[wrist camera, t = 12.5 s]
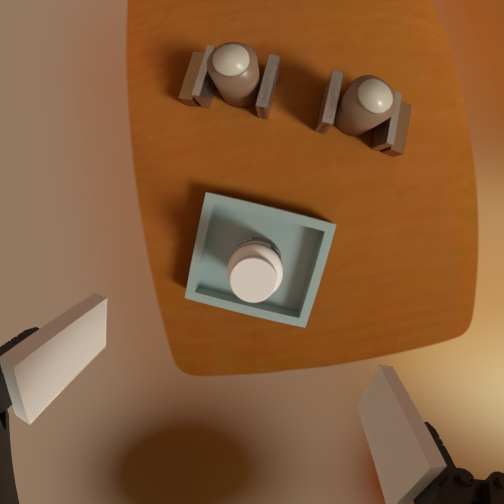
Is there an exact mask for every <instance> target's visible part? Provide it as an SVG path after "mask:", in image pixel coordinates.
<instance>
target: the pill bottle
mask: <svg viewBox="0 0 504 504" xmlns="http://www.w3.org/2000/svg"><path fill="white" fill-rule="evenodd" d="M227 274H228V280H229V282H230V286H231V289H232V291H233V292H234V294H235V295H236V296H237V297H238V298H240V299H241V300H243V301H246V302H251V303H256V302H261V301H263V300H265V299H267V298H268V297H269V296H270V295H271V294H272V293H274V292H275V291H276V290H277V288H278V287H279V285H280V283H281V281H282V277H283V266H282V258H281V253H280V250H279V248H278V247H277V245H276V244H275V243H274V242H273V241H272V240H270V239H268V238H266V237H262V236H253V237H249V238H247V239H245V240H244V241H242V242H241V243H240V244H239V245H238V247H237V248H236V250H235V252H234V253H233V255H232V256H231V258H230V260H229V263H228V268H227Z"/></svg>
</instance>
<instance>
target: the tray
mask: <svg viewBox="0 0 504 504" xmlns="http://www.w3.org/2000/svg"><path fill="white" fill-rule="evenodd" d="M335 228H336V224H334V223H332V222H329V221H325V220H322V219H318V218H314V217H310V216H307V215H303V214H299V213H295V212H291V211H287V210H284V209H280V208H276V207H272V206H268V205H264V204H259V203H255V202H251V201H247V200H243V199H239V198H234V197H230V196H226V195H221V194H217V193H212V192H206V194H205V198H204V203H203V207H202V212H201V217H200V221H199V226H198V231H197V236H196V241H195V246H194V251H193V256H192V261H191V267H190V272H189V277H188V283H187V288H186V294H185V298H187V299H190V300H194V301H198V302H201V303H205V304H209V305H212V306H216V307H220V308H224V309H228V310H232V311H235V312H239V313H243V314H247V315H252V316H256V317H260V318H264V319H268V320H272V321H277V322H281V323H285V324H290V325H294V326H299V327H304V328H305V327H306V324H307V321H308V318H309V315H310V312H311V309H312V306H313V302H314V299H315V296H316V293H317V290H318V287H319V283H320V280H321V277H322V274H323V270H324V267H325V264H326V260H327V257H328V253H329V250H330V246H331V243H332V239H333V235H334V232H335ZM253 236H262V237H266V238H268V239H270V240H272V241H273V242H274V243H275V244H276V245H277V247H278V248H279V250H280V253H281V258H282V266H283V277H282V281H281V283H280V285H279V287H278V288H277V290H276V291H275V292H274V293H272V294H271V295H270V296H269V297H268V298H267V299H265V300H263V301H261V302H256V303H251V302H246V301H243V300H241V299H240V298H238V297H237V296H236V295H235V294H234V292H233V291H232V289H231V286H230V282H229V280H228V274H227V268H228V263H229V260H230V258H231V256H232V255H233V253H234V252H235V250H236V248H237V247H238V245H239V244H240V243H241V242H242V241H244V240H245V239H247V238H249V237H253Z"/></svg>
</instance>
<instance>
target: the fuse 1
mask: <svg viewBox="0 0 504 504" xmlns="http://www.w3.org/2000/svg"><path fill="white" fill-rule="evenodd" d="M207 70H208V73H209V74H210V76H211V78H212V80H213V81H214V83H215V85H216V87H217V88H218V90H219V92H220V94H221V96H222V97H223V99H224V100H225V102H226V103H228V104H229V105H231V106H233V107H237V108H243V107H248V106H250V105H252V104H254V103H255V102H256V101H257V98H258V94H259V91H260V87H261V82H260V74H259V66H258V59H257V55H256V53H255V52H254V50H253V49H252V48H251V47H249V46H248V45H246V44H243V43H239V42H229V43H225V44H222V45H220V46H218V47H217V48H215V49H214V50H213V51H212V52H211V54H210V55H209V57H208V60H207Z"/></svg>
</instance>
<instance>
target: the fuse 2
mask: <svg viewBox="0 0 504 504" xmlns="http://www.w3.org/2000/svg"><path fill="white" fill-rule="evenodd" d="M395 109H396V97H395V94H394V92H393V90H392V88H391V87H390V86H389V85H388V84H387V83H386V82H385V81H384V80H382V79H380V78H378V77H376V76H371V75H365V76H361V77H359V78H357V79H356V80H354V81H353V83H352V84H351V85H350V87H349V88H348V89H347V91H346V92H345V93H344V95H343V96H342V97H341V99H340V100H339V101H338V103H337V108H336V113H335V117H334V123H335V125H336V127H337V128H338V129H339V130H340V131H341V132H343V133H344V134H346V135H349V136H359V135H362V134H364V133H365V132H367V131H369V130H370V129H372V128H374V127H375V126H377V125H379V124H380V123H382V122H384V121H385V120H387V119H388V118H390V117H391V116H392V115H393V114H394V112H395Z"/></svg>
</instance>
